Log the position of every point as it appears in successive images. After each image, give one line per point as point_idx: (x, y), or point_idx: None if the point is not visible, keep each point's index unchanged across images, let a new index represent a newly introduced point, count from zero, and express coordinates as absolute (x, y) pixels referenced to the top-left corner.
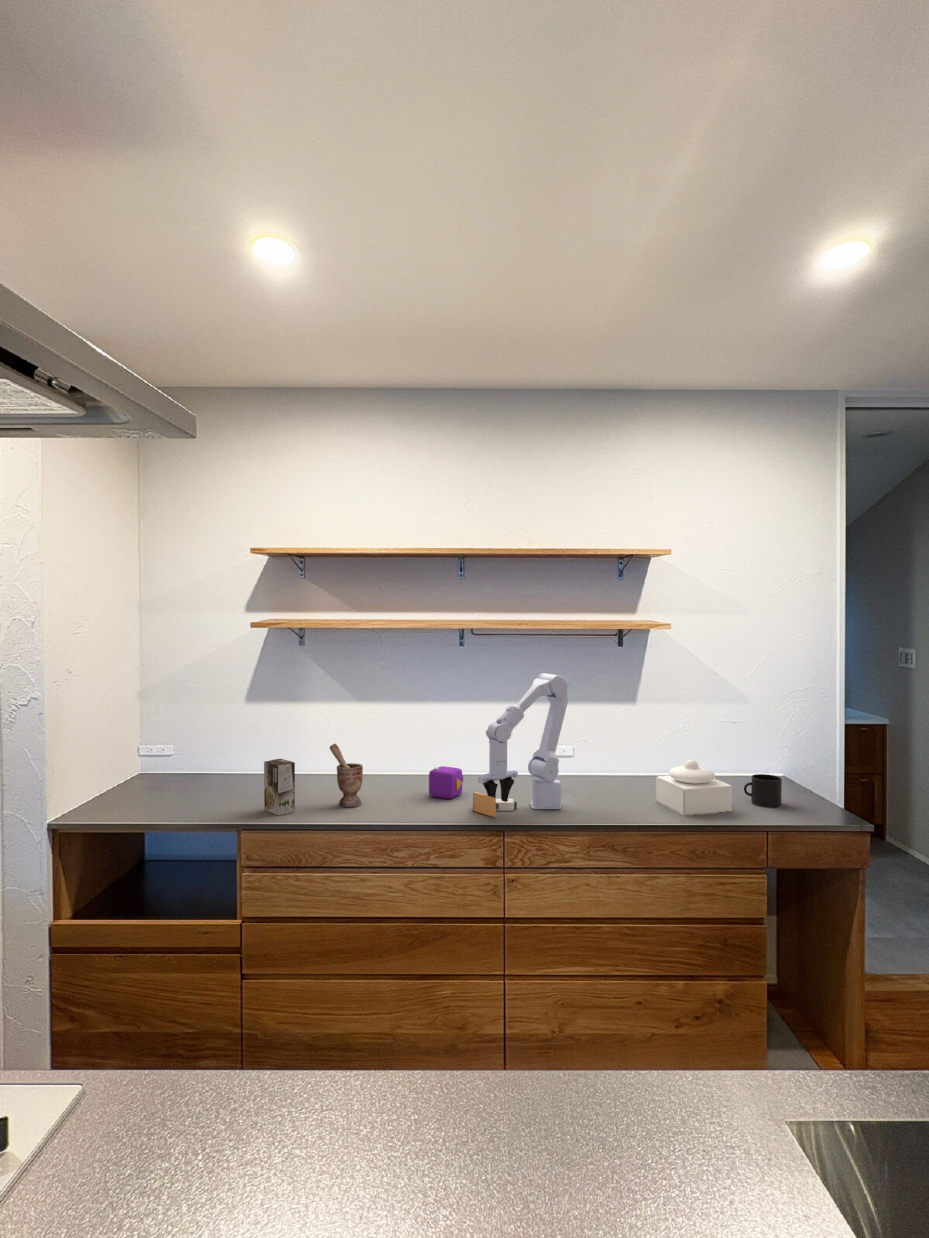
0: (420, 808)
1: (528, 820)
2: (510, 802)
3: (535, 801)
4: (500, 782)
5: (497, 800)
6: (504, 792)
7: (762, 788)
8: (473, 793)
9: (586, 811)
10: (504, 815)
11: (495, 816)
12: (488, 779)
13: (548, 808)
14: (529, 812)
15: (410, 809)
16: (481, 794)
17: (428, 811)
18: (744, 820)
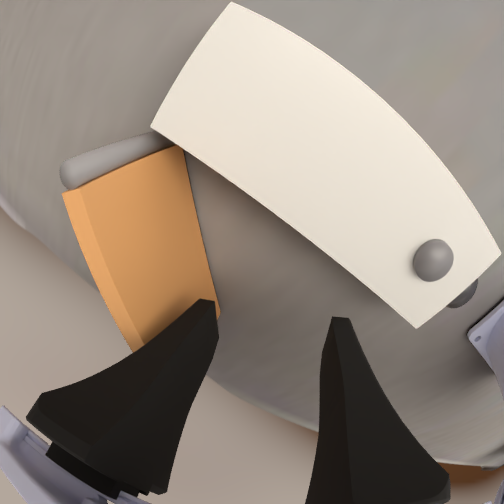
0: (24, 4)
1: (311, 399)
2: (404, 314)
3: (502, 347)
4: (345, 468)
5: (387, 207)
6: (326, 406)
7: None
8: (67, 175)
9: (497, 403)
10: (284, 318)
11: (217, 312)
12: (75, 483)
13: (488, 362)
14: (418, 350)
15: (5, 15)
16: (104, 292)
17: (19, 52)
18: (496, 458)
